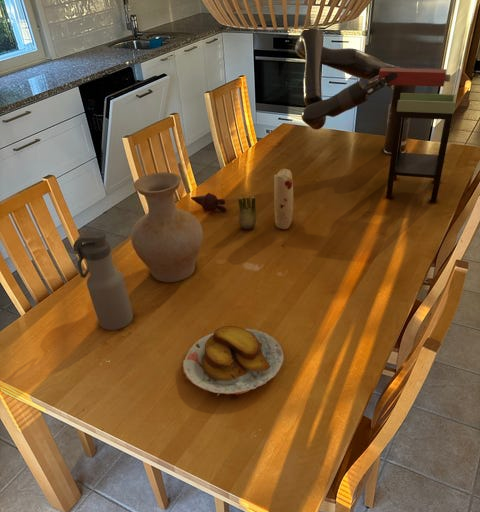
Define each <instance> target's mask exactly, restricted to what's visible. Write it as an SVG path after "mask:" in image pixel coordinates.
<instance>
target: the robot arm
mask: <svg viewBox="0 0 480 512" xmlns="http://www.w3.org/2000/svg"><path fill="white" fill-rule="evenodd" d="M323 45H324V34H323V32H322V30H321V28H319V27H318V29H309V30H304V29H302V31H301V33H300V35H299V37H298V39H297V40H296V42H295V46H294V50H295V53H296V55H297V56H298V57H300V58H301V59H303V60H305V64H304V65H305V67H304V71H303V72H304V73H303V82H302V91H303V92H302V93H303V101H304V103H305V105H306V106H305V107H304V108H303V110H302V111H301V116H300V117H301V120H302V122H303V123H304V124H306V125H307V126H308V127H310V128H311V129H312V130H317V131H319V130H321V129H322V128H323V127H324V126H325V124H326V121H327V117H330V118H335V117H337V116H340V115H341V114H343V113H345V112H347V111H350V110H352V109H354V108H356V107H358V106H360V105H362V104H365V103H366V102H368V100H369V96H371V95H372V94H374V93H376V92H377V91H380V90H381V89H383V88H384V87H385V86H387V87H388V88H390V89H391V90H392V95H391V100H390V104H388V111H387V113H388V114H387V119H386V120H387V121H386V130H385V136H384V137H385V138H384V147H383V153H385V154H387V155H390V156H391V153H392V145H393V137H394V129H395V121H396V113H397V105H398V100H400V94H401V93H416V92H417V86H408V85H386V84H387V83H388V82H390V81H392V80H394V79H396V78H397V74H396V72H393V73H391V74H389V75H387V76H385V77H382V78H381V79H378V78H379V71H380V69H381V68H402V67H400V66H396V65H392V64H389V63H386V62H384V61H382V60H380V59H379V58H377V57H375V56H373V55H370V54H368V53H367V52H364V51H362V50H359V49H356V48H351V47H350V48H349V47H348V48H346V47H345V48H329V47H326V46H323ZM322 66H326V67H329V68H332V69H335V70H337V71H340V72H343V73H346V74H347V75H350V76H352V77H354V78H358V79H360V80H358V81H356V82H354V83H353V84H351V85H349V86H347V87H345V88H343V89H342V90H340V91H339V92H338V93H336V94H334V95H331V97H329V98H326V99H323V93H322V91H323V90H322ZM362 80H367V82H366V83H364V81H362ZM410 121H411V118H405V121H404V129H403V136H402V143H401V151H400V153H407V152H406V151H407V143H408V134H409V130H410V129H409V128H410Z"/></svg>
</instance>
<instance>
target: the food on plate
mask: <svg viewBox="0 0 480 512" xmlns="http://www.w3.org/2000/svg"><path fill="white" fill-rule="evenodd" d="M197 345H198V346H197ZM285 357H286V356H285V352H284V349H283V347H282V344H281V343H280V342H279V340H277V339H276V338H275V337H274V336H272V335H270V333H266V332H264V331H261V330H257V329H252V328H247V327H240V326H236V325H224V326H220V327H217V328H216V329H215V330H214V331H213V332H212V333H208V334H207V335H205V336H203V337H201V338H199V339H197V340H196V341H195V343H194V344H193V345H192V346H191V347H190V348H189V350H188V352H187V353H186V356H185V358H184V359H183V360H182V369H183V370H182V371H183V375H184V381H188V382H189V383H191V384H192V385H193V386H196V388H200V390H204V391H207V392H211V393H214V394H217V395H216V397H219V396H220V394H224V395H233V394H234V395H236V396H238V395H242V394H244V393H248V392H250V391H251V390H255V389H257V388H258V387H261V386H263V385H266V384H267V382H269V381H271V379H273V378H274V377H276V375H277V374H278V372H279V371H280V369H281V367H282V365H283V364H284V362H285Z"/></svg>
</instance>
